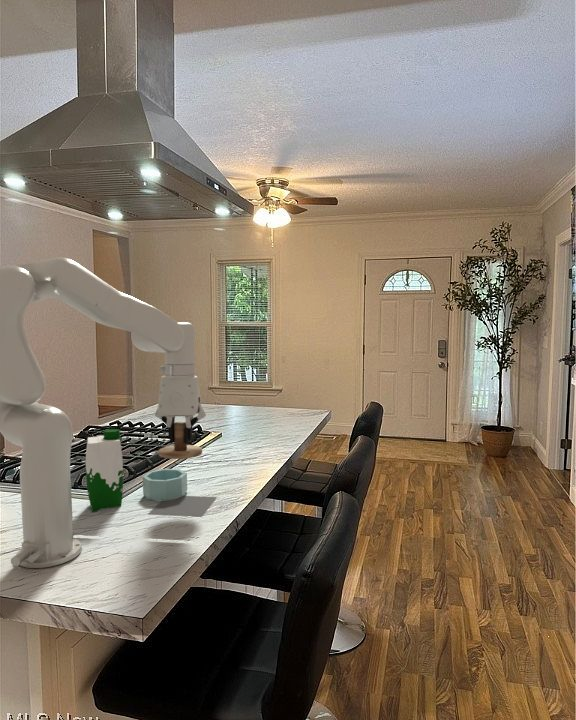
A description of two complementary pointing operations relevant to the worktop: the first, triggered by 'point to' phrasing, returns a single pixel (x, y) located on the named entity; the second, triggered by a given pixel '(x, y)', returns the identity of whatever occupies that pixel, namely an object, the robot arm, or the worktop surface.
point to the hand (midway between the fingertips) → (180, 441)
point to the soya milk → (104, 470)
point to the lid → (180, 445)
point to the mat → (184, 506)
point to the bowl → (165, 484)
